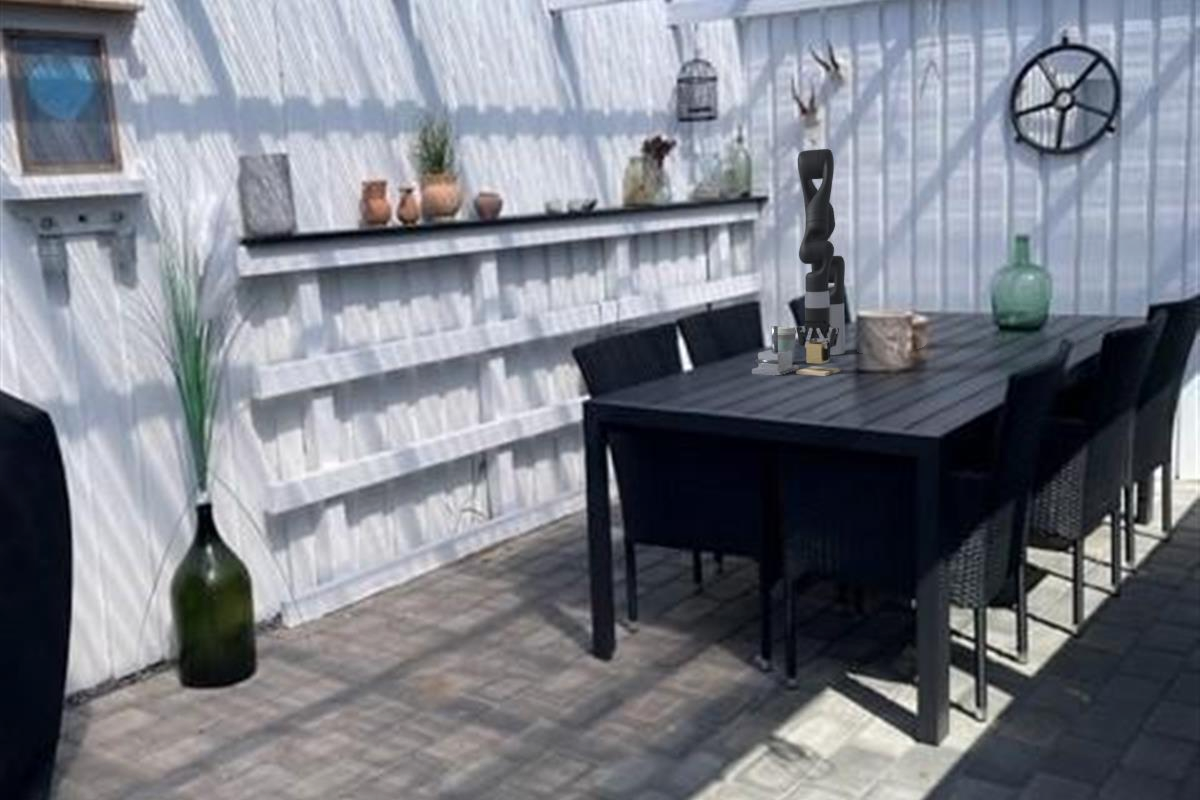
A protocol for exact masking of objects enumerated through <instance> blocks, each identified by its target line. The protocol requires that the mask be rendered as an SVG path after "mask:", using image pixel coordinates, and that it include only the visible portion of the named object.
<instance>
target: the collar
mask: <svg viewBox="0 0 1200 800" xmlns="http://www.w3.org/2000/svg"><path fill="white" fill-rule="evenodd" d="M824 349H825V348H824V346H823V343H822V342H817V341H813V342H811V343H807V344H806V348H805V357H806V361H805V362H806V364H816V365H817V364H820V365H821V364H822V365H823V364H825V363H829V362H830V359H829V360H827V361H824Z"/></svg>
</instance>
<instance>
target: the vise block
mask: <svg viewBox="0 0 1200 800" xmlns="http://www.w3.org/2000/svg"><path fill="white" fill-rule="evenodd" d="M778 326H779V325H773V326H772V325H771V326H770V327H771V329H770V330H771V331H770V333H771V334H772V336H771V349H768V350H764V351H760V352H757V359H755V360H754V363H757V365H758V367H754V368H751V374H752V375H761V376H762V375H763V376H775V375H781V376H783V375H782V374H784V375H787V374H786V373H788V374H790V373H789V372H791V373H793V372H792V371H794V372H796V370H800V368H799V367H800V366H799V364H798V365H797V364H796V365H795V364H792V350H780V349H778ZM771 334H770V335H771Z"/></svg>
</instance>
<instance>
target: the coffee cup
mask: <svg viewBox="0 0 1200 800" xmlns="http://www.w3.org/2000/svg"><path fill="white" fill-rule="evenodd" d="M777 326H778V349H780V350H792V363H793V364H794V358H795V357H794V356H795V349H796V347H795V345H796V338H797V337H796V336H797V329H796V326H793V325H777ZM770 335H771V337H772V334H771V332H770Z"/></svg>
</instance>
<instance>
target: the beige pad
mask: <svg viewBox="0 0 1200 800" xmlns="http://www.w3.org/2000/svg"><path fill="white" fill-rule="evenodd" d="M838 372H841V367H830V366H817V365H816V366H815V365H814V366H813V365H812V366H807V367H805V368H800V369H799V370H797V371H795V373H796V375H805V376H817V377H818V376H819V377H820V376H821V377H826V376H829V375H833V374H836V373H838Z"/></svg>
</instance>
